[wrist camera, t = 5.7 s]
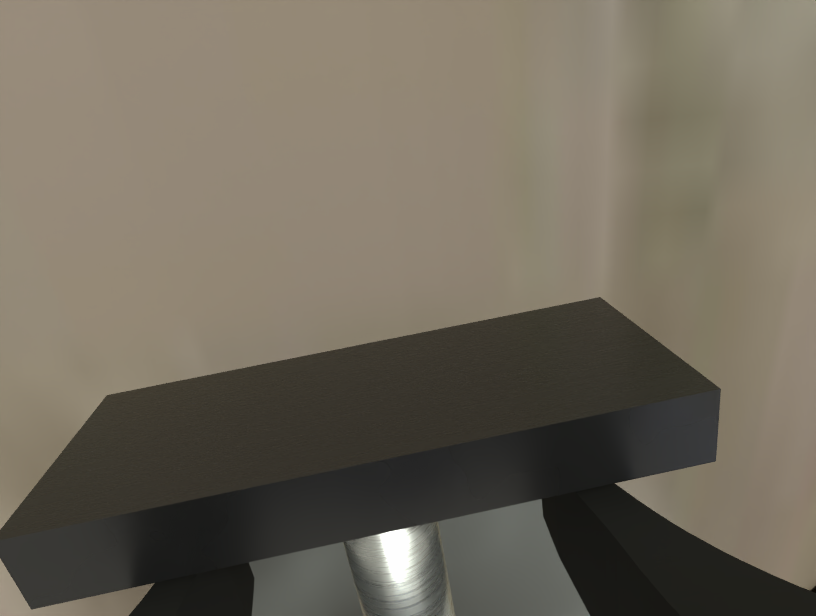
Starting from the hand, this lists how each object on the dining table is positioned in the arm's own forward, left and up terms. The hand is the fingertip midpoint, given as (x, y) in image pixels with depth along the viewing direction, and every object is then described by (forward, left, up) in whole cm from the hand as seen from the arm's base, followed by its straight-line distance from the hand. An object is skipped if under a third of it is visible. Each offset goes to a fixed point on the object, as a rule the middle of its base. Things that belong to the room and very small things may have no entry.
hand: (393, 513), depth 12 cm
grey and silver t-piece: (-5, +5, -2) cm, 8 cm away
